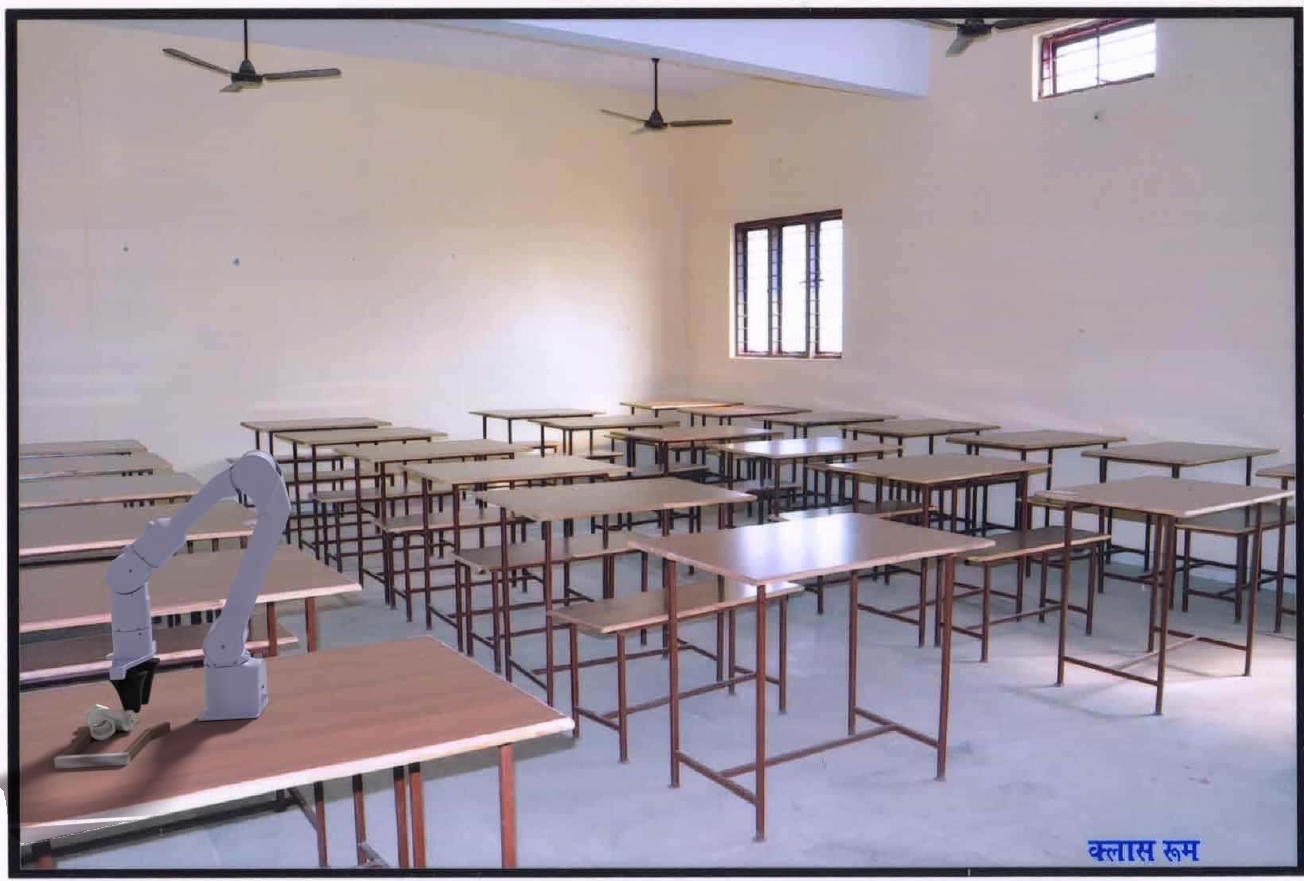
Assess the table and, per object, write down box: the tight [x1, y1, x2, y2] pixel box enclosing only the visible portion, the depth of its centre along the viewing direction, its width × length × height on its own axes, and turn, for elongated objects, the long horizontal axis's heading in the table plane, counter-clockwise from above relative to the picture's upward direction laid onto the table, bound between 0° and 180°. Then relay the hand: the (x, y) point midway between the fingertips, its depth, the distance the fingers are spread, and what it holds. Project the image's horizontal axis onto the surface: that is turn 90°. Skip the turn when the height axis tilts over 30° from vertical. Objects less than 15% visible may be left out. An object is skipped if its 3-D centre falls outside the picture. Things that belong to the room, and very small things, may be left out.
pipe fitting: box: [84, 703, 138, 741], centre depth 163 cm, size 8×4×7 cm
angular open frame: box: [53, 721, 171, 769], centre depth 156 cm, size 14×13×2 cm
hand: (136, 708), depth 167 cm, fingers open, 3 cm apart
